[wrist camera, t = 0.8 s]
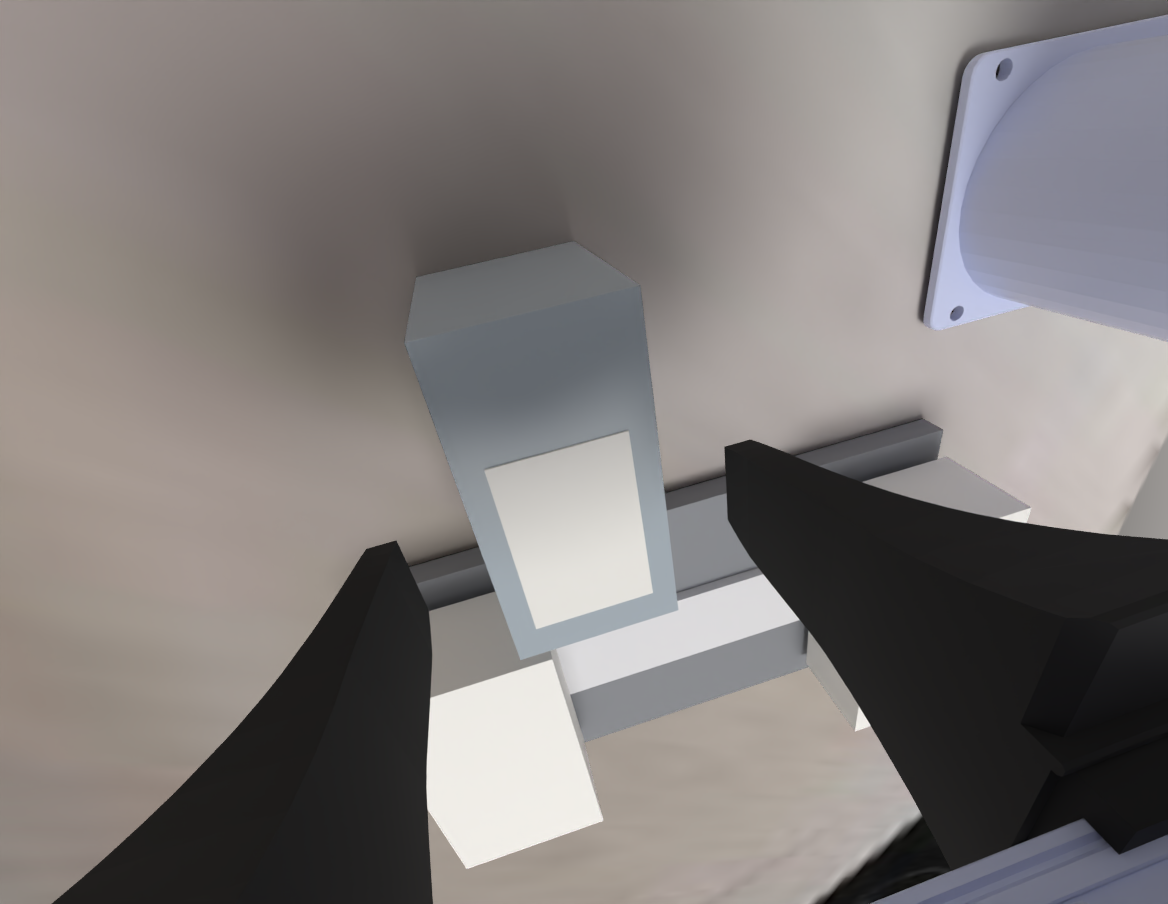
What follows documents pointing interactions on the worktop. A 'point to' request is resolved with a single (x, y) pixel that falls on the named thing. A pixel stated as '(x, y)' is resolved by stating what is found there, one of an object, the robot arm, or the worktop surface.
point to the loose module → (550, 437)
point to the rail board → (632, 655)
